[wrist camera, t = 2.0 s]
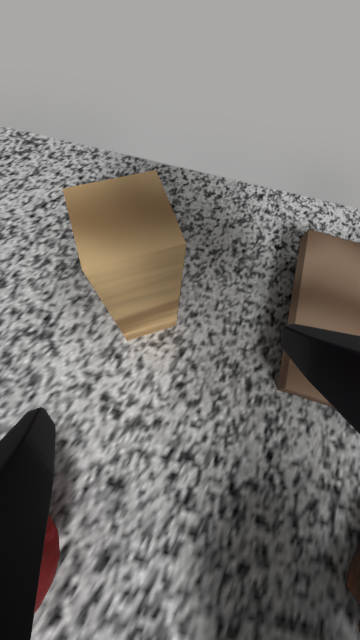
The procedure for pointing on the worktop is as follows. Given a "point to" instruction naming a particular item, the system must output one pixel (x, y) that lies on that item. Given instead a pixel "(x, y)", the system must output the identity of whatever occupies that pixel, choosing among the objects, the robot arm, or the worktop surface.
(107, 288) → the wooden block
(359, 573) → the brown jagged curved piece
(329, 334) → the robot arm
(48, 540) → the onion
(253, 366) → the worktop surface
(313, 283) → the footed wooden board
